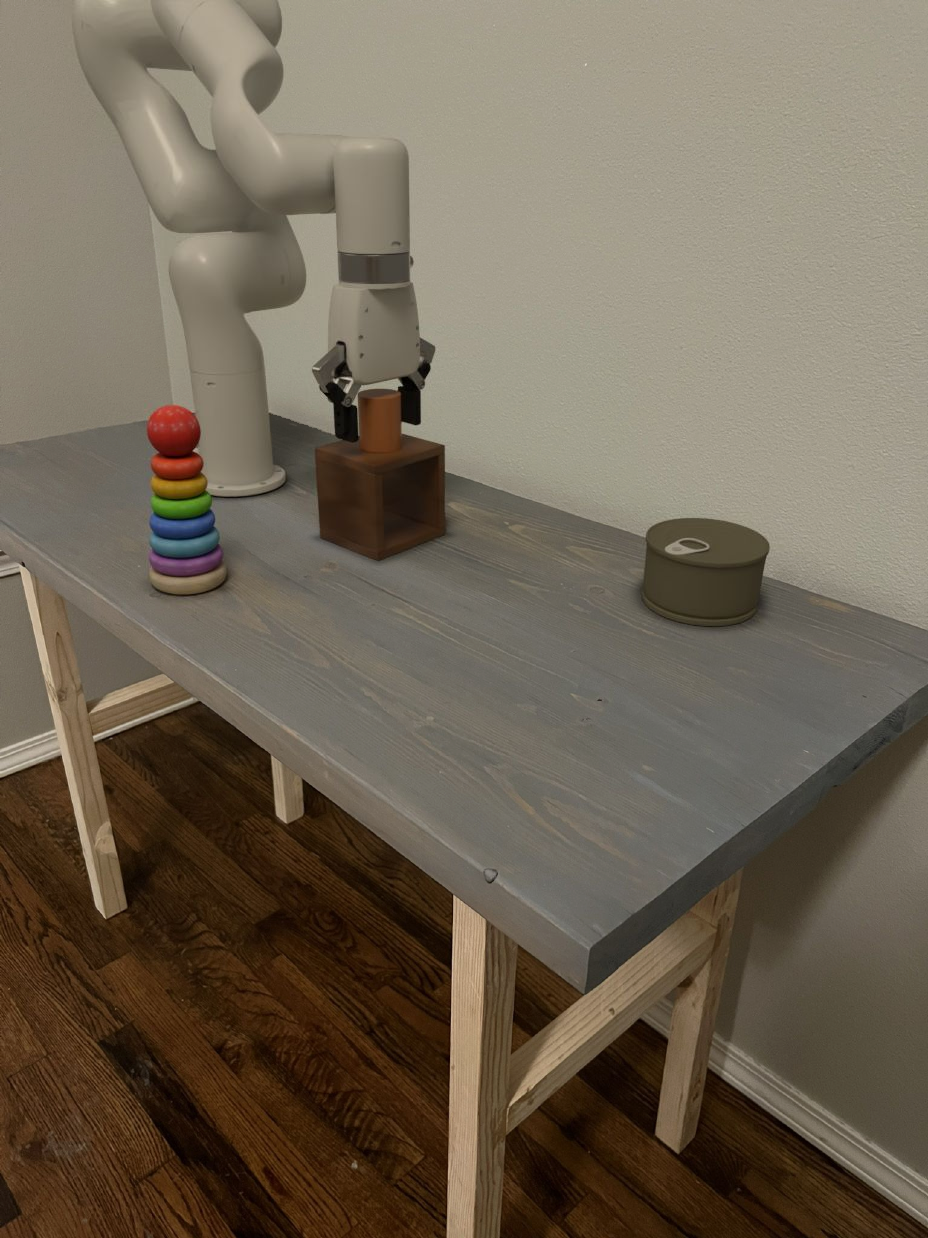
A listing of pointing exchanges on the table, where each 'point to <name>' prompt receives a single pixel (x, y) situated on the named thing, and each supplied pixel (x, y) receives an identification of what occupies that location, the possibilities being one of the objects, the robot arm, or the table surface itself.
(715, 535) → the can
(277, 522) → the table surface
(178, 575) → the stacking toy
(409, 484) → the shelf
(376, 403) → the copper tin
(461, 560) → the table surface
